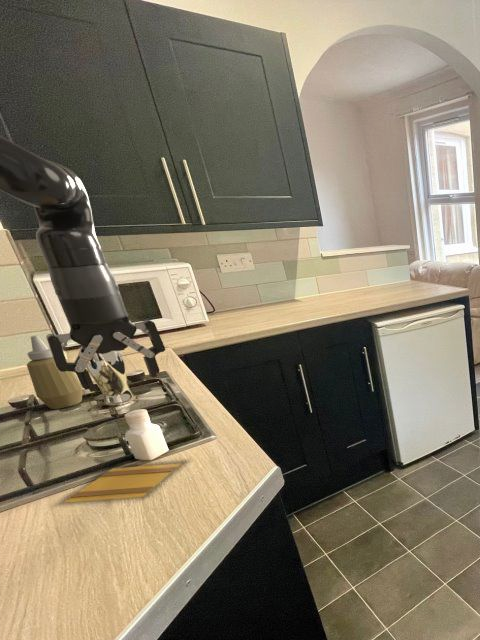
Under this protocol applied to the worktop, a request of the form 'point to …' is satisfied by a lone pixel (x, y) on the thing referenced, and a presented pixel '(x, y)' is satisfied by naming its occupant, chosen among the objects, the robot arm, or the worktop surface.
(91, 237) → the robot arm
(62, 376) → the squeeze bottle
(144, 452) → the pepper shaker
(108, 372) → the beer glass
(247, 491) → the worktop surface
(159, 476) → the towel
